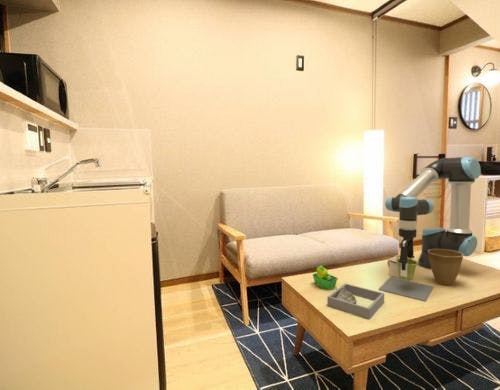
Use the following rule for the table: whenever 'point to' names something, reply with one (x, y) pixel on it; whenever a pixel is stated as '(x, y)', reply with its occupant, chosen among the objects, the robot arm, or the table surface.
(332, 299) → the rock display frame
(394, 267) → the teacup with lid
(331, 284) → the fruit basket
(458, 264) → the plant pot
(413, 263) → the plant pot
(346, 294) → the rock sample
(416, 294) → the charcoal mat
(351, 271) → the table surface
